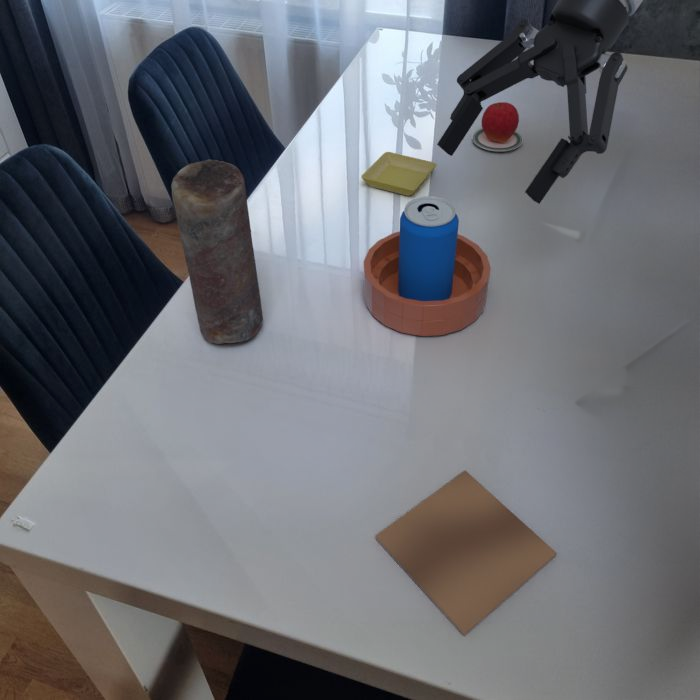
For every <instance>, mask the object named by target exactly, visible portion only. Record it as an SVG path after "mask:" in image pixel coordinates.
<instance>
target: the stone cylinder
mask: <svg viewBox="0 0 700 700" xmlns="http://www.w3.org/2000/svg"><path fill="white" fill-rule="evenodd" d="M170 187H171V197H172V203H173V207H174V211H175V216H176V221H177V225H178V230H179V234H180V240H181V245H182V249H183V254H184V258H185V263H186V268H187V271H188V277H189V282H190V287H191V293H192V298H193V303H194V308H195V312H196V313H195V314H196V318H197V322H198V326H199V331H200V334H201V336H202V338H203V340H206V341H207V342H208V343H211V344H213V343H214V344H217V345H221V344H235V343H243V342H246V341H249V340H250V339H252V338H254V336H255V335H256V334H257V333H258V332H259V330H260V328H261V327H262V325H263V321H264V317H263V309H262V301H261V294H260V293H261V292H260V286H259V279H258V272H257V265H256V264H257V263H256V258H255V250H254V244H253V236H252V230H251V221H250V214H249V206H248V198H247V190H246V181H245V177H244V175H243V173H242V171H241V170H240V169H239V168H238V167H237V166H235V164H232V163H229V162H226V161H222V160H218V159H211V158H210V159H209V158H208V159H205V160H201V161H197V162H194V163H189V164H186V165H185V166H183V167H182V168H181V169H180V170H179V171H178V172H177V173H176V174H175V175H174V177H173V178H172V181H171V185H170Z"/></svg>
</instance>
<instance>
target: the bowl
mask: <svg viewBox="0 0 700 700" xmlns="http://www.w3.org/2000/svg"><path fill="white" fill-rule="evenodd" d="M399 237H400V231H396V232H393V233H391V234H389V235H387V236H384V237H383V238H380V239H379V240H377V241H376V242H375V243H374V244H373V245H372V246H371V247H370V248H369V249H368V251H367V253H366V255H365V257H364V260H363V295H364V303H365V305H366V307H367V309H368V311H369V312H370V314H371V315H372V317H374V318H375V319H376V320H377V321H378V322H379V323H381V324H382V325H383V326H385V327H388V328H390V329H392V330H395V331H397V332H399V333H402V334H408V335H413V336H419V337H433V336H434V337H437V336H444V335H449V334H450V333H451V334H452V333H455V332H458V331H461V330H463V329H464V328H466V327H468V326H469V325H471V324H472V323H474V322H476V320H477V319H479V317H480V315H481V314H482V313H483V312H484V310H485V306H486V301H487V296H488V290H489V289H488V288H489V281H490V275H491V264H490V261H489V258H488V257H489V256H487V254H486V253H485V251H484V250H483V248H481V246H480V245H479V244H477V243H475V242H474V241H472V240H471V239H469V238H467V237H466V236H464V235H462V234H459V233H458V235H457V245H456V255H455V265H454V275H453V285H452V293H451V296H450V298H449V299H446V300H441V301H418V300H412V299H406V298H403V297H401V296H400V295H399V292H398V274H399Z"/></svg>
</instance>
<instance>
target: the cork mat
mask: <svg viewBox="0 0 700 700" xmlns="http://www.w3.org/2000/svg"><path fill="white" fill-rule="evenodd" d="M375 540H376V541H377V543H378V544H379V545H380V546H381V547H382V548H383V549H384V551H385V552H386V553H388V555H389V556H390V557H391V559H393V560H394V561H395V563H396V564H397V565H398V566H399V567H400V569H402V570H403V571H404V573H406V575H407V576H408V577H409V578H410V579H411V580H412V581H413V582H414V584H415V585H416V586H417V587H418V588H419V589H420V590H421V591H422V592H423V593H424V595H425V596H427V598H428V599H429V600H430V601H431V602H432V603H433V605H435V607H436V608H437V609H438V610H439V611H440V612H441V613H442V615H444V616H445V618H446V619H447V620H448V621H449V622H450V623H451V624H452V625H453V626H454V627H455V629H456V630H457V631H458V632H459V633H460V634H461V635H462V636H463V637H466V636H467V635H468V634H469V633H470V632H471V631H473V629H475V628H476V627H477V626H478V625H479V624H481V623H482V622H483V621H484V620H485V619H486V618H487V617H489V616H490V615H491V614H492V613H493V612H494V611H495V610H497V608H500V606H501V605H502V604H503V603H505V602H506V601H507V600H509V598H510V597H511V596H513V595H514V594H515V593H516V592H517V591H518V590H519V589H521V588H522V587H523V586H524V585H525V584H526V583H528V582H529V581H530V580H531V579H532V578H533V577H534V576H535V575H537V574H538V573H539V572H540V571H542V569H544V568H545V567H546V566H547V565H548V564H549V563H551V562H552V561H553V560H554V559H555V558H556V557H557V554H558V553H557V551H555V549H553V548H552V547H551V546H550V545H549V544H548V543H547V542H545V541H544V540H543V539H542V538H541V537H540V536H539V535H537V533H536V532H534V531H533V529H531V528H530V527H528V525H527V524H526V523H524V521H522V519H520V518H519V517H518V516H517V515H516V514H515V513H513V512H512V511H511V510H510V509H509V508H508V507H507V506H505V504H503V503H502V502H501V501H500V500H499V499H498V498H497V497H496V496H494V494H492V493H491V492H490V491H489V490H488V489H487V488H486V487H485V486H483V485H482V484H481V482H479V481H478V480H477V479H476V478H475V477H474V476H472V475H471V474H470V473H469V472H468V471H467V470H464V471H462V472H461V473H459V474H457V476H455V477H454V478H452V480H450V481H448V482H447V483H446V484H444V485H443V486H442V487H440V488H439V489H438V490H436V491H435V492H433V493H432V494H431V495H430V496H428V497H426V498H425V499H424V500H422V501H421V502H420V503H419V504H417V505H416V506H414V507H413V508H411V510H409V511H407V512H406V513H405V514H404V515H402V516H401V517H399V518H398V519H396V520H395V521H394V522H392V524H390V525H388V526H387V527H386V528H384V529H383V530H382V531H380V532H379V533H377V534H376V535H375Z"/></svg>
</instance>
